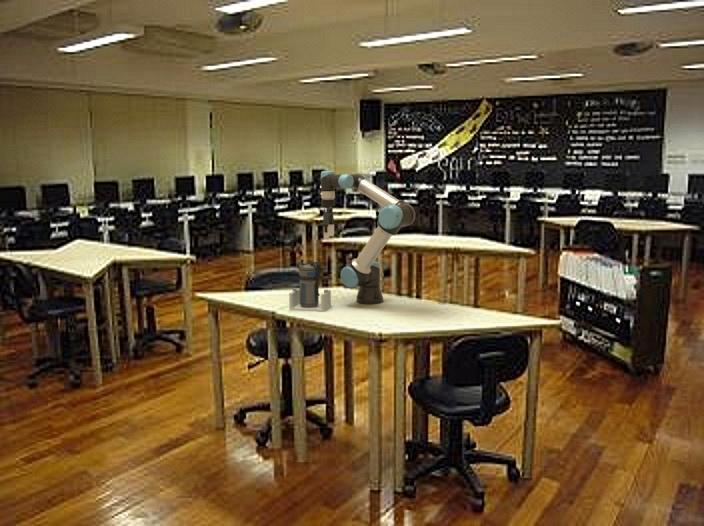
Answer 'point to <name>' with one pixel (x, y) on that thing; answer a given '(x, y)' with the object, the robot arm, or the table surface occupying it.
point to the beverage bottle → (309, 283)
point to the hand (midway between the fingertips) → (328, 237)
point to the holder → (295, 305)
